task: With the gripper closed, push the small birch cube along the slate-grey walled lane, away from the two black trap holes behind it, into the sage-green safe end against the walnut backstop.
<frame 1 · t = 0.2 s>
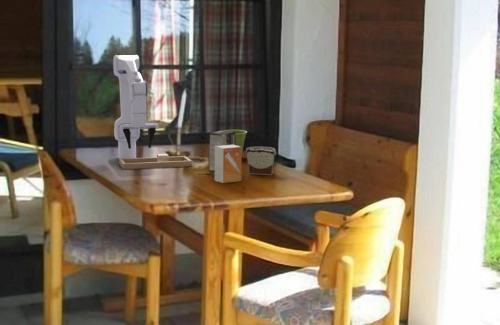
hand: (139, 147, 347), 10 cm above the table, fingers open, 7 cm apart
coffee box: (222, 173, 349), on the table
small box: (228, 181, 333), on the table
birch cube: (162, 164, 358), point 1 cm above the table, touching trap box
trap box: (155, 168, 357), on the table
plant pot: (233, 158, 383), on the table
food container: (262, 173, 349), on the table
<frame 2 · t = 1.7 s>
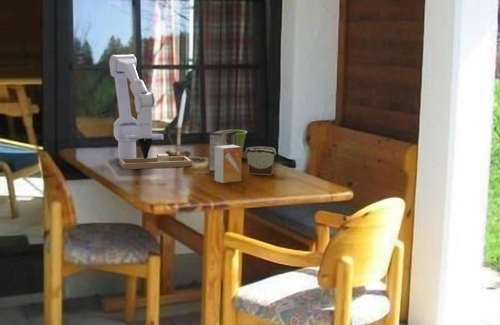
hand: (145, 158, 355), 4 cm above the table, fingers closed
nothing on the table moved.
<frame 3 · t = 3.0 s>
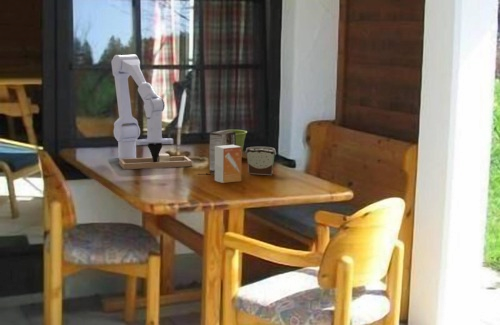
hand: (155, 162, 357), 3 cm above the table, fingers closed
birch cube: (163, 164, 358), point 2 cm above the table, touching gripper, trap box
everything else where it was.
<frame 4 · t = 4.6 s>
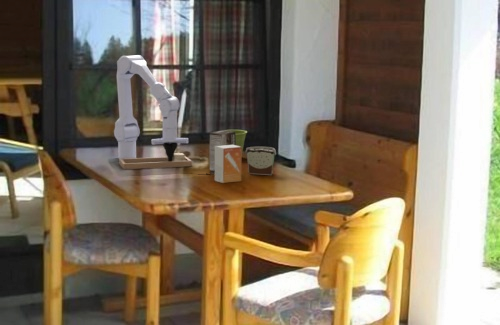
hand: (170, 161, 358), 3 cm above the table, fingers closed
birch cube: (178, 163, 360), point 1 cm above the table, touching gripper, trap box
everything else where it was.
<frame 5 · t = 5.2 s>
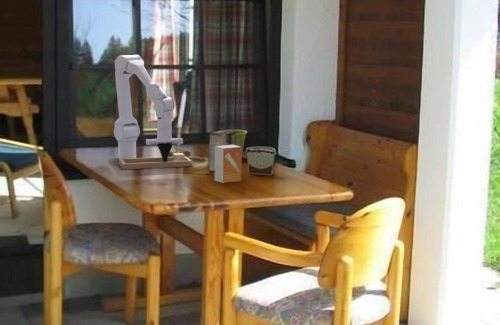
hand: (164, 162, 358), 2 cm above the table, fingers closed
birch cube: (178, 163, 360), point 1 cm above the table, touching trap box
everything else where it was.
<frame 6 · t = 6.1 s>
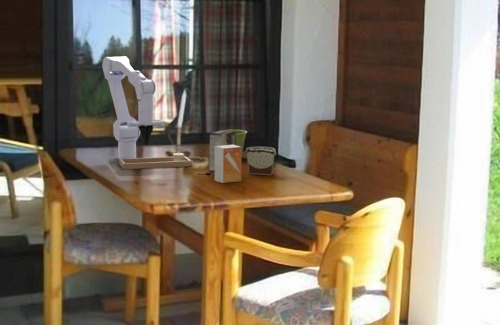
hand: (145, 144, 358), 9 cm above the table, fingers closed
nothing on the table moved.
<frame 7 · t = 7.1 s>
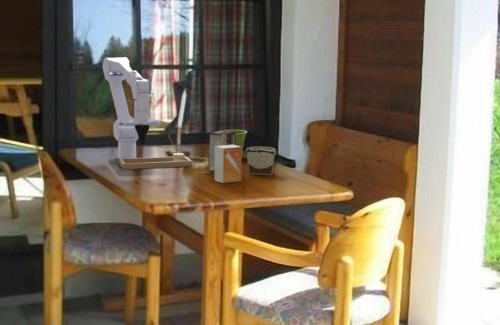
hand: (142, 144, 358), 9 cm above the table, fingers closed
nothing on the table moved.
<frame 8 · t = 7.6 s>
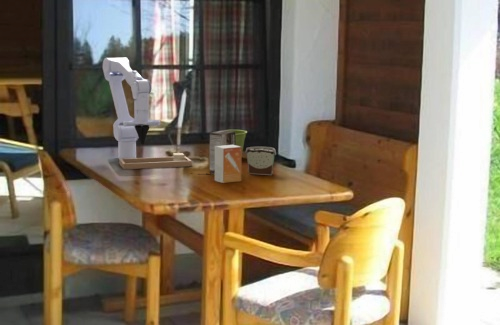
hand: (142, 144, 358), 9 cm above the table, fingers closed
nothing on the table moved.
at the end: birch cube inside the target area on the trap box (0.2 cm from its centre), point 1.5 cm above the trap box's base; birch cube tilted 0°; birch cube moved 6.4 cm from its start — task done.
